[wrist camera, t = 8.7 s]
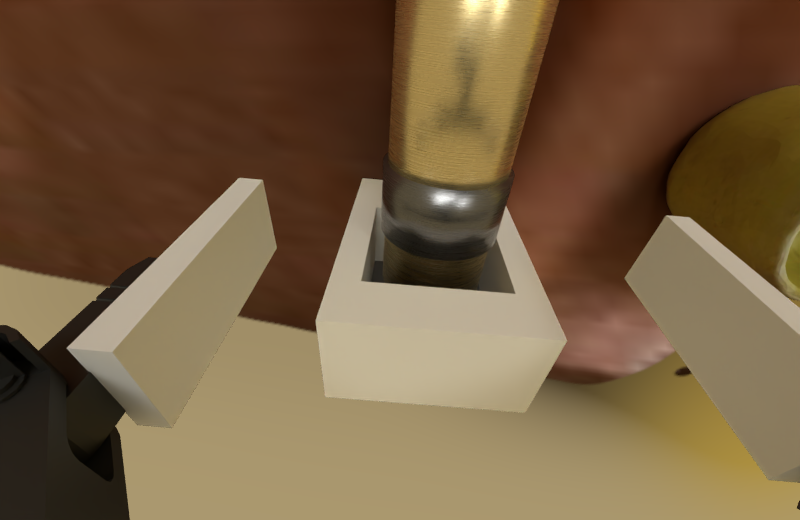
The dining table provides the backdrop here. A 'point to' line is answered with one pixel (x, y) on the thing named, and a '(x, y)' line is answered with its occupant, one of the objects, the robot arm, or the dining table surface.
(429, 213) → the tube
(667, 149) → the dining table surface
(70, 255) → the dining table surface
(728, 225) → the mug
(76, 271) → the dining table surface
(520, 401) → the socket block
